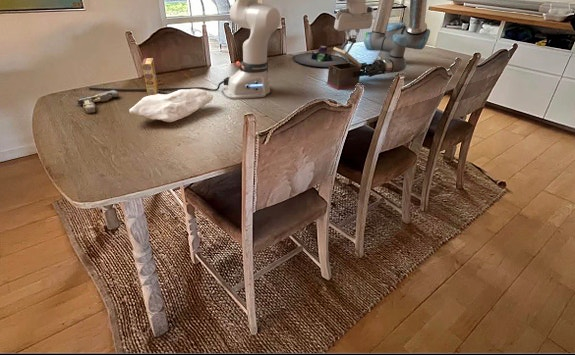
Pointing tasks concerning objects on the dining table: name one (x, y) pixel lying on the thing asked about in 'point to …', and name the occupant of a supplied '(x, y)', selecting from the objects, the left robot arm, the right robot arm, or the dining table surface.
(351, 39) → the lid
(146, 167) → the dining table surface
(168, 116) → the crumpled cloth
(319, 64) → the dark round tray
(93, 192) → the dining table surface
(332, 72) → the chest
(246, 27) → the left robot arm
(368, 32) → the snack cup
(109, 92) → the handgun
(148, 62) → the candy box
